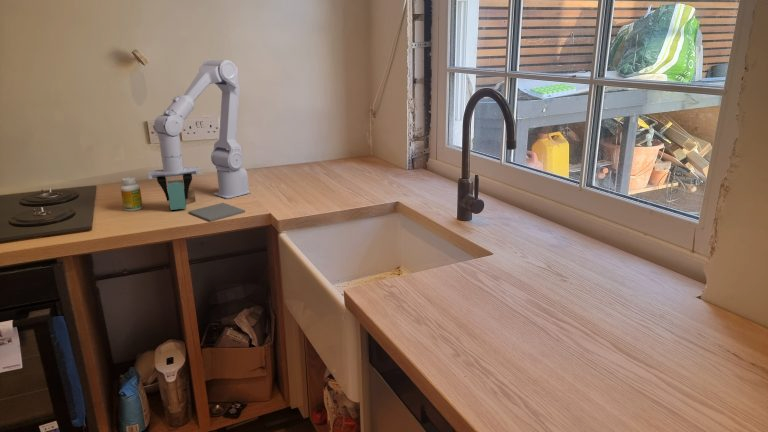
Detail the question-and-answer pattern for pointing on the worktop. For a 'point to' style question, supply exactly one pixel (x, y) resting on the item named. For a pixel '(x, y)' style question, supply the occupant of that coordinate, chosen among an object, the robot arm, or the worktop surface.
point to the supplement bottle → (131, 194)
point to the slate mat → (216, 212)
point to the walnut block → (190, 197)
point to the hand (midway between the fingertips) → (177, 198)
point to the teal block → (176, 194)
